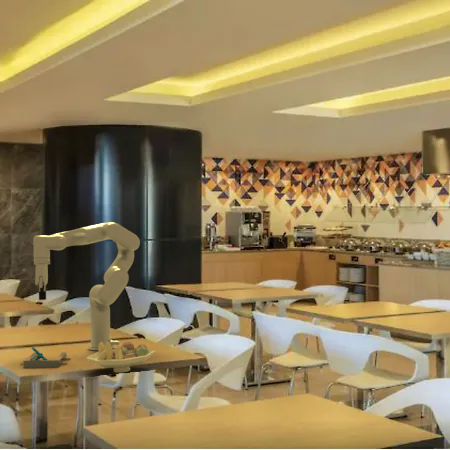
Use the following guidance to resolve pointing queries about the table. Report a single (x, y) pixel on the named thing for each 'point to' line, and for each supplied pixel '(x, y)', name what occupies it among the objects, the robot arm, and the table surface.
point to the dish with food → (120, 356)
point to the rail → (44, 361)
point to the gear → (38, 354)
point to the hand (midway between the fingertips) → (42, 299)
